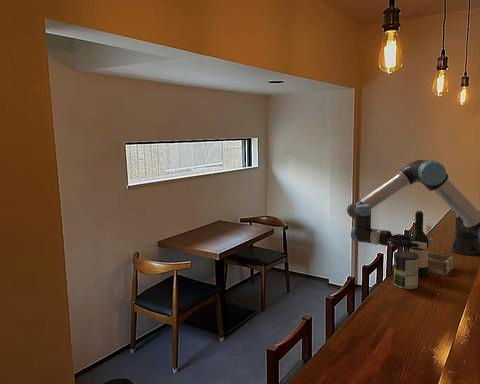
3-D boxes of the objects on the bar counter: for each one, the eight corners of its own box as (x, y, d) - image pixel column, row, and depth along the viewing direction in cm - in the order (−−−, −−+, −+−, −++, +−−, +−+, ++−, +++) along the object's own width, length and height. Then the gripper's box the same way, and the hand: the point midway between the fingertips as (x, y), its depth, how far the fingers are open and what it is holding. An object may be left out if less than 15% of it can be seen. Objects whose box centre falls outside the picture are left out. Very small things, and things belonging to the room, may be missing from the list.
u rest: (427, 263, 203) (427, 252, 202) (453, 268, 194) (453, 256, 194) (418, 270, 194) (418, 258, 193) (445, 275, 185) (446, 262, 185)
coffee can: (392, 287, 174) (392, 256, 172) (394, 279, 183) (394, 250, 181) (417, 290, 169) (418, 258, 167) (418, 282, 178) (419, 252, 176)
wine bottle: (430, 276, 182) (431, 213, 178) (410, 276, 184) (411, 213, 180) (425, 270, 191) (426, 209, 187) (407, 270, 192) (407, 209, 188)
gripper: (390, 240, 206) (436, 246, 190) (372, 249, 190) (421, 257, 175) (390, 226, 205) (436, 231, 189) (372, 234, 189) (421, 241, 174)
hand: (429, 244), depth 182 cm, fingers closed on wine bottle, 8 cm apart
